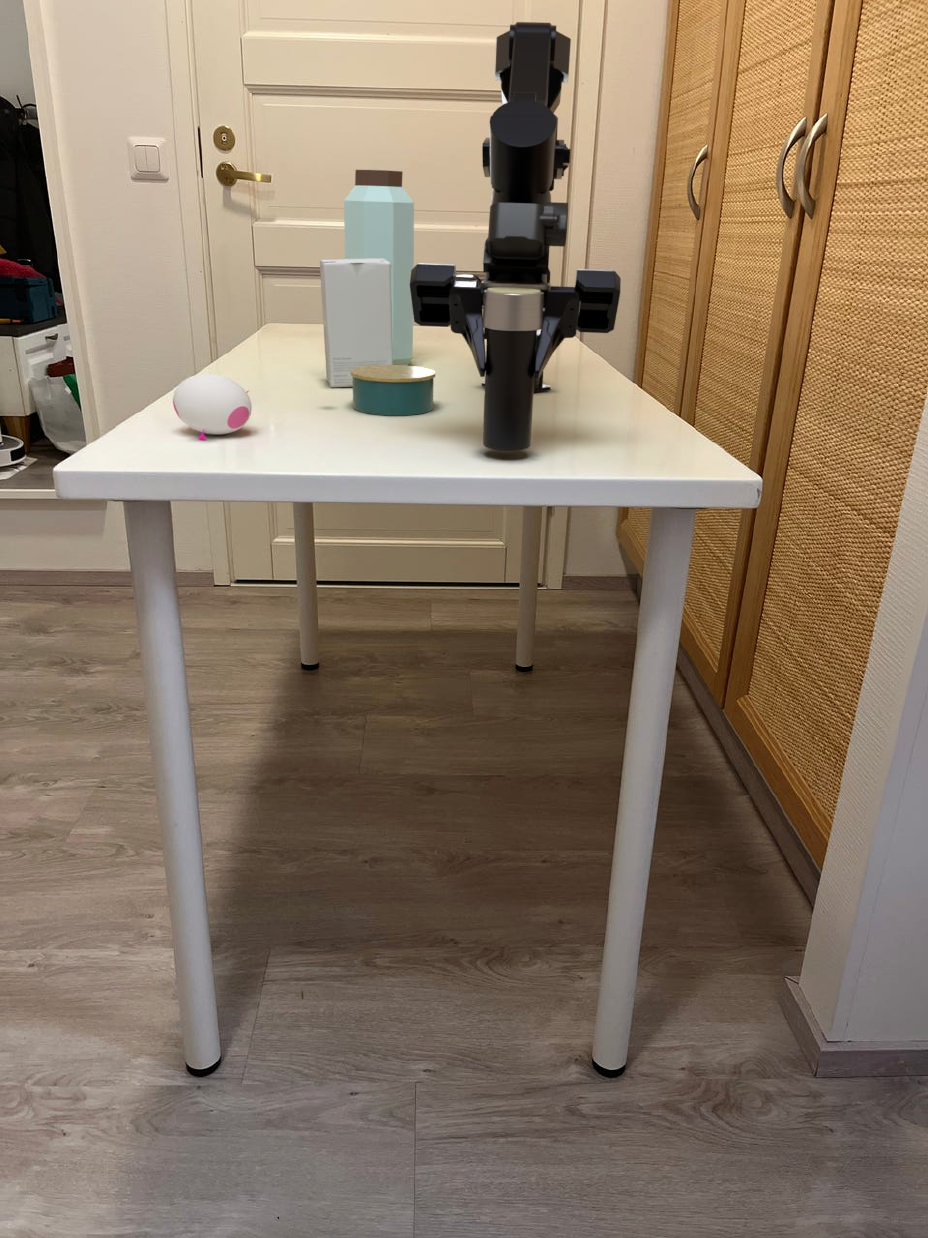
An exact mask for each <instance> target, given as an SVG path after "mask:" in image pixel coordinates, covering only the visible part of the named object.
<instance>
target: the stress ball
mask: <svg viewBox="0 0 928 1238" xmlns="http://www.w3.org/2000/svg"><path fill="white" fill-rule="evenodd" d="M248 392H249V390H247V391H246V390H245V388H243V386H242V385H241V384H240V383H238V382H236V381H235V380H234V379H232V378H229V377H227V376H225V375H220V374H216V373H200V374H195V375H191V376H189V377H187V378H185V379H184V380H183V381H181V382H179V384H178V385H177V387H176V388H175V390H174V393H173V395H172V404H173V408H174V411H175V413H176V415H177V417H178V418H179V419H180V420H181V422H183V423H184V424H185V425H186V426H187V427H189V428H191V429H193V430H195V431H197V432H200V435H199V436H198V437H197V438H196V440H200V441H207V439H206V437H205V434H207V435H215V436H217V435H218V436H219V435H220V436H221V435H228V434H231V433H234V432H236V431H238V430H240V429H241V428H242V427H244V426H245V425H246V424H247V423H248V421H249V419H250V417H251V415H252V411H253V410H252V407H253V406H252V405H253V404H252V401H251V398H250V396H249V394H248Z"/></svg>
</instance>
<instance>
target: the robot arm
mask: <svg viewBox="0 0 928 1238" xmlns="http://www.w3.org/2000/svg"><path fill="white" fill-rule="evenodd" d="M571 45H572V39H571V37H568V36H567V35H565V34H563V33H561V32H559V31H557V25H554V24H552V23H551V22H536V21H534V22H533V21H531V22H530V21H528V22H527V21H517V22H515V24H509V30H507V31H505V32H504V33H501V34H500V35H498V36H496V38H495V61H494V76H495V81H496V82H500V90H501V92H500V93H501V102H502V105H500V106H499V107H497V109H495V111H494V112H493V114H492V115H491V116H490V117H489V137H485V139H484V141H483V142H482V147H481V148H482V149H481V151H482V152H481V154H482V155H481V157H482V171H483V175H484V178H489V179H490V180H489V181H490V185H491V188H492V189H493V190H492V193H491V203H490V206H489V215H488V217H489V218H488V233H487V234H488V235H487V238H486V239H485V242H484V247H483V248H484V250H483V261H482V270H483V273H484V279H480V277H479V276H478V275H475V274H467V273H465V274H464V273H457V267H456V266H457V265H456V264H452V263H449V264H448V263H421V262H419V263H417V264H416V265H415V266H413V269H412V270H411V277H410V291H411V299H412V307H413V323H415V324H417V325H419V326H421V327H440V328H441V327H443V328H444V327H445V328H448V327H450V331H451V332H452V333H454V334H457V335H459V334H460V335H461V336H462V337H463V339H464V340H465V342H466V344H467V346H468V347H469V349H470V352H471V354H472V357H473V360H474V363H475V365H476V368H477V371H478V374H479V377H480V378H485V370H486V343H485V341H486V340H487V328H485V327H483V302H484V290H487V289H488V288H494V287H516V288H530V289H538V290H540V291H541V292H543V293H544V300H543V316H542V328H541V329H540V330H537V340H536V357H535V374H534V392H533V393H535V392H544V391H545V392H546V391H551V390H552V389H551V388H552V387H551V385H547V384H544V370H545V369H546V367H547V366H548V365H547V364H548V363H549V361H550V359H551V357H552V355H553V354H554V353H555V352H556V350H557V349H558V347H559V346H560V345H561V344H562V343H563V342H564V340H565V339H573V338H574V337H576V336H577V331H578V332H579V333H592V334H593V333H594V334H609V333H610V332H612V331H614V330H615V327H616V319H617V314H618V310H619V309H618V308H619V303H620V297H621V281H622V279H621V277H620V275H619V274H618V273H617V272H616V271H615V269H592V268H591V269H589V268H588V269H587V268H576V271H575V272H576V273H575V281H574V286H558V285H557V286H556V285H552V284H551V270H550V268H549V266H550V265H549V263H550V247H561V248H562V247H563V248H564V247H566V243H567V237H568V236H567V233H568V219H569V218H568V217H569V203H568V202H557V201H554V202H553V201H552V194H551V192H552V191H554V189H555V180H562V179H563V177H565V171H566V170H567V169H568V168H569V166H570V162H571V148H568V146H567V143H565V139H558V125H559V117H558V116H557V115H556V114H555V112H556V110H557V109H558V107H559V106H560V104H561V98H562V88H563V87H562V86H563V85H562V84H563V83H566V84H568V82H569V73H570V62H571V61H570V60H571ZM481 387H483V388H485V381H482V382H481Z"/></svg>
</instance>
